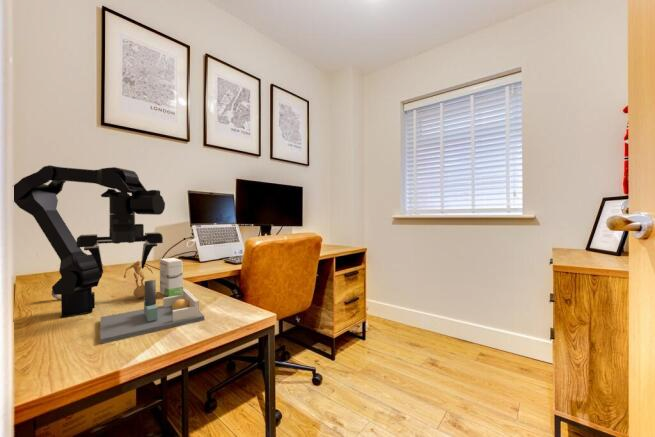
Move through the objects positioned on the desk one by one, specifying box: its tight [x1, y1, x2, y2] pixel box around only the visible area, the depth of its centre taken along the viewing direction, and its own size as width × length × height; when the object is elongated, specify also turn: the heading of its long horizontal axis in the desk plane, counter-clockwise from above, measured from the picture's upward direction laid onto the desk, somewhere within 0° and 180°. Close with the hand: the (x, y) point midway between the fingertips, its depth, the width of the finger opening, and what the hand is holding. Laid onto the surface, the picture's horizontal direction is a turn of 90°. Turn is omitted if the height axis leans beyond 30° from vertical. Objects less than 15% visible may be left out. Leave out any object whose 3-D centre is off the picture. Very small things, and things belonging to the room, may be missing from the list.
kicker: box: [143, 279, 158, 322], centre depth 72 cm, size 2×8×9 cm, turn 39°
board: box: [100, 305, 205, 344], centre depth 72 cm, size 21×16×1 cm
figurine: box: [123, 260, 154, 299], centre depth 91 cm, size 8×6×12 cm
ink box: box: [159, 257, 184, 297], centre depth 96 cm, size 9×5×12 cm, turn 48°
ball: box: [172, 299, 189, 310], centre depth 77 cm, size 4×4×4 cm
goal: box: [162, 288, 200, 322], centre depth 77 cm, size 6×14×4 cm, turn 39°
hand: (122, 270), depth 78 cm, fingers open, 9 cm apart
